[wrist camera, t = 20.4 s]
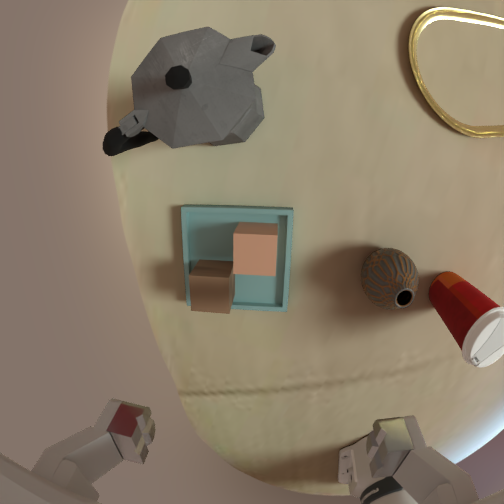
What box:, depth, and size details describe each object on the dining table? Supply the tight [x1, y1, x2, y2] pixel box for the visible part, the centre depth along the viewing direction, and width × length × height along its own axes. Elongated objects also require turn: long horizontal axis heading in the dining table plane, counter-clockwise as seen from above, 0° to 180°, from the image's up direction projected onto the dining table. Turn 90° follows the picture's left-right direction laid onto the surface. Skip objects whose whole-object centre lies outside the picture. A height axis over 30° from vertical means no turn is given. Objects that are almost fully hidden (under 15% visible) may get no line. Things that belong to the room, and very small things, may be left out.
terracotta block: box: [233, 222, 278, 276], centre depth 35 cm, size 4×4×5 cm
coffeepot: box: [103, 27, 276, 156], centre depth 25 cm, size 15×9×18 cm, turn 119°
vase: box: [361, 248, 419, 310], centre depth 34 cm, size 7×7×9 cm
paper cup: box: [429, 272, 504, 367], centre depth 31 cm, size 8×8×14 cm
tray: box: [181, 205, 294, 312], centre depth 38 cm, size 13×13×2 cm
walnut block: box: [189, 259, 235, 314], centre depth 37 cm, size 4×4×5 cm
